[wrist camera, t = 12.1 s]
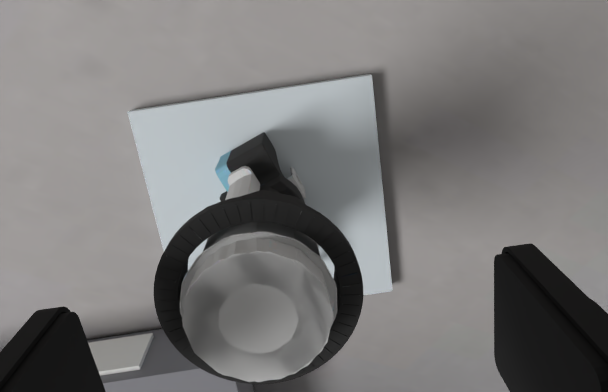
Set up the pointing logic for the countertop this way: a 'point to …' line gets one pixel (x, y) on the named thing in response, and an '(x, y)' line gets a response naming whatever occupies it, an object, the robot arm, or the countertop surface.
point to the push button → (258, 277)
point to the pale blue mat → (290, 153)
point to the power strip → (152, 366)
